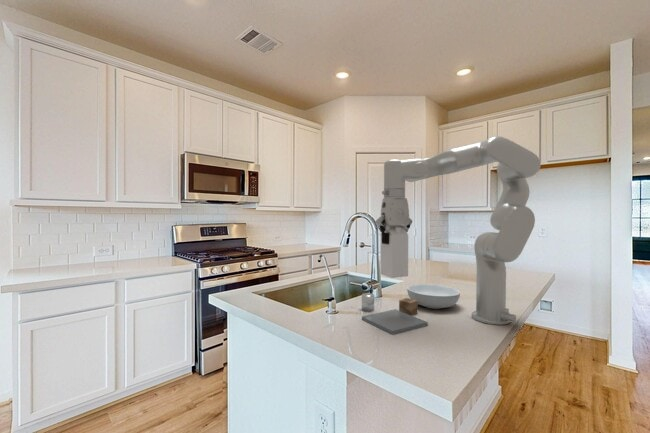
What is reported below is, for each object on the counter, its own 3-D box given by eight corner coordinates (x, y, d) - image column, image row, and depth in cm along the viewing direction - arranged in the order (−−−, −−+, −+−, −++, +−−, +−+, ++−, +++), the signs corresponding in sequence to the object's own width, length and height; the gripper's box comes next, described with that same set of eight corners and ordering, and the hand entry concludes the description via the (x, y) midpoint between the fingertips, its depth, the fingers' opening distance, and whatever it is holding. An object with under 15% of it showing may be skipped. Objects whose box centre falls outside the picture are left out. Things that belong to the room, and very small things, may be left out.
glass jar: (376, 310, 124) (376, 295, 124) (366, 312, 122) (366, 297, 122) (369, 307, 128) (369, 292, 128) (359, 309, 126) (359, 294, 126)
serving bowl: (465, 315, 119) (465, 297, 118) (408, 311, 123) (408, 294, 123) (454, 300, 139) (454, 284, 139) (405, 297, 143) (405, 282, 143)
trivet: (427, 325, 108) (427, 322, 108) (392, 334, 100) (392, 330, 100) (395, 312, 122) (395, 309, 122) (362, 319, 114) (362, 316, 114)
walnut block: (417, 313, 121) (417, 300, 121) (410, 316, 118) (410, 303, 117) (405, 310, 125) (405, 297, 125) (399, 313, 121) (399, 300, 121)
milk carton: (380, 274, 116) (380, 223, 115) (396, 273, 118) (396, 222, 118) (391, 278, 109) (391, 223, 109) (408, 276, 112) (408, 223, 112)
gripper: (382, 193, 106) (381, 245, 106) (419, 194, 114) (419, 243, 114) (368, 194, 112) (368, 243, 113) (405, 195, 121) (405, 241, 121)
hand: (394, 243), depth 114 cm, fingers closed on milk carton, 7 cm apart
